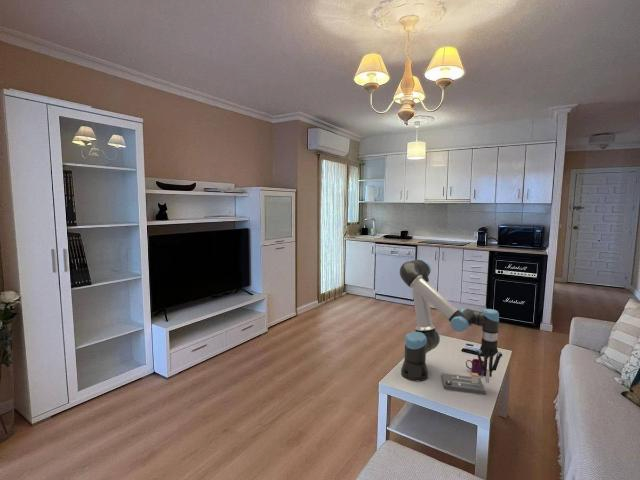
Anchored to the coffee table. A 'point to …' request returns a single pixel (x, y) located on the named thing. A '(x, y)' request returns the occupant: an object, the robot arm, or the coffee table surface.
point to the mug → (476, 366)
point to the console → (462, 383)
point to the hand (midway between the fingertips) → (487, 381)
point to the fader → (474, 378)
